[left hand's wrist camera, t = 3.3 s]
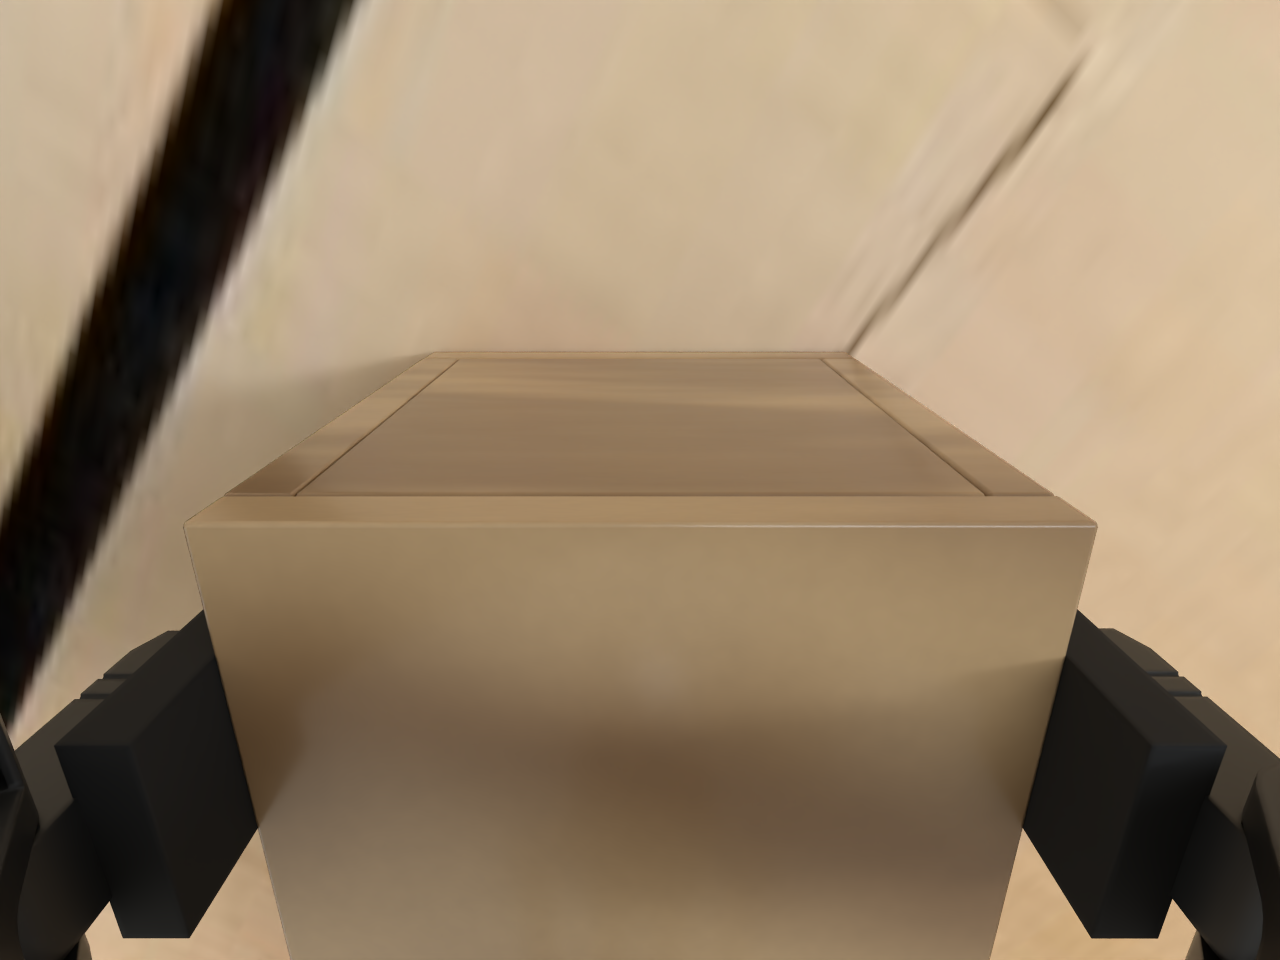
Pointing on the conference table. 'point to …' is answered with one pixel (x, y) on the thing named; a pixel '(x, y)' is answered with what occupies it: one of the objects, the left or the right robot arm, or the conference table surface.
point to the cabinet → (640, 662)
